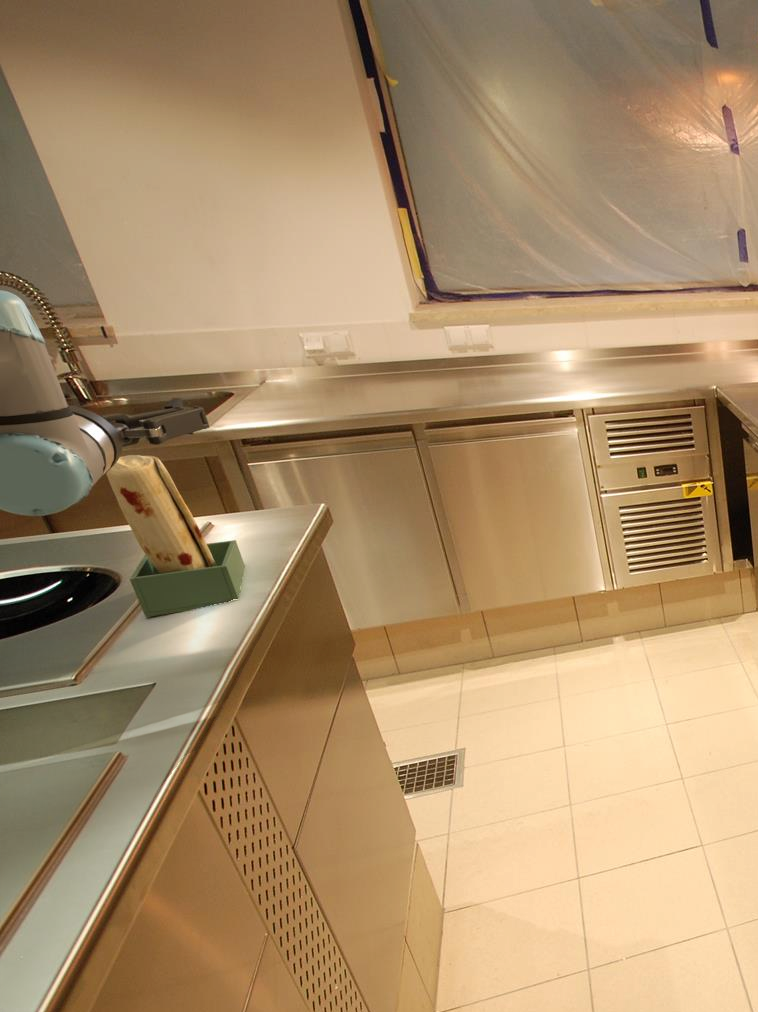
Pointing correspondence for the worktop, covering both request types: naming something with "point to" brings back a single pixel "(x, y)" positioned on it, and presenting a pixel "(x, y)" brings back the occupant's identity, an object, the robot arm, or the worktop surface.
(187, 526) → the food model
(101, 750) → the worktop surface
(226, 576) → the bin
